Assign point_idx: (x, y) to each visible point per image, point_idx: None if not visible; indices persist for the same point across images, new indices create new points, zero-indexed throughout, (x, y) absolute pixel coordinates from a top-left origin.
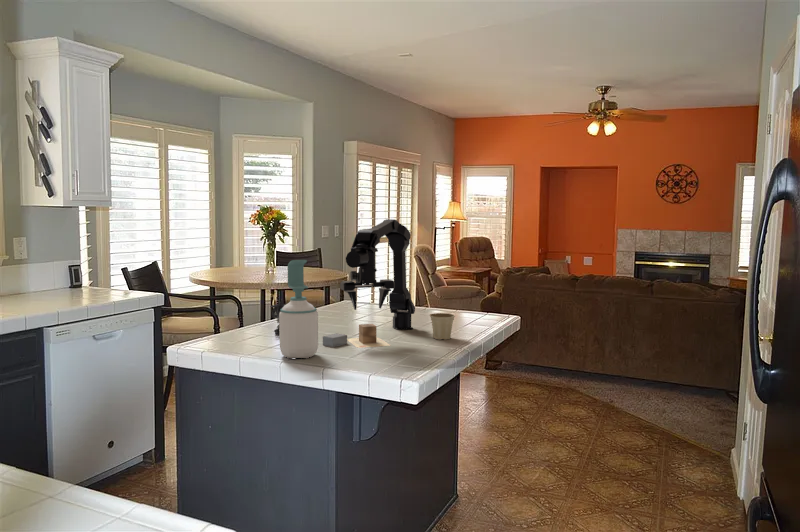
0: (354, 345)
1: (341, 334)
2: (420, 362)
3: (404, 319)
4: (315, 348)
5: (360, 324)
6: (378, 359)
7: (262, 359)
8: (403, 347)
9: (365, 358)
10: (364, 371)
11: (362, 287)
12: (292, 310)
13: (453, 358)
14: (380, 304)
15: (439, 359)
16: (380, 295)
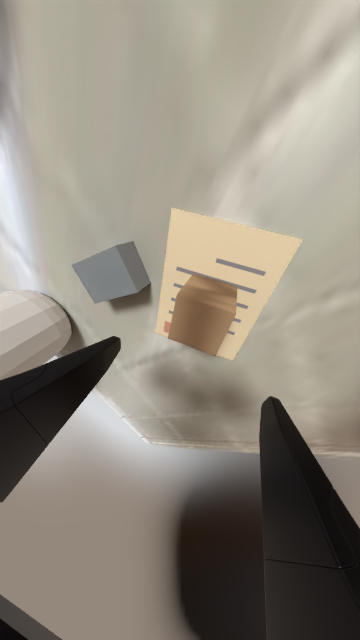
0: (158, 311)
1: (124, 275)
2: (194, 432)
3: None
4: (62, 348)
5: (182, 297)
6: (154, 396)
7: None
8: (243, 383)
9: (140, 383)
10: (121, 408)
11: (10, 610)
12: None
13: (247, 452)
14: (259, 438)
15: (227, 442)
16: (297, 540)
